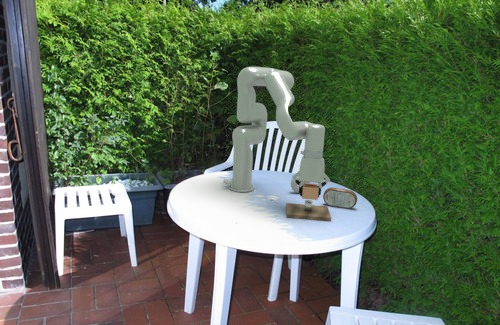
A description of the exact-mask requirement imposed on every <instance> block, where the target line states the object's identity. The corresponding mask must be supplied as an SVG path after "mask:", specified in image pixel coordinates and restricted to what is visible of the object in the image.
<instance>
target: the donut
mask: <svg viewBox="0 0 500 325" xmlns="http://www.w3.org/2000/svg"><path fill="white" fill-rule="evenodd" d="M297 179H298V180H299V181H300V179H299V176H298V177H297ZM304 183H310V184H311V182H304ZM290 187H291V190H292V191H293V192H294V193H297V194H299V185H298V184H297V183H296V182H295V181H294V180H293V178H292V179H291V181H290Z"/></svg>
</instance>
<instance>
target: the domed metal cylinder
mask: <svg viewBox="0 0 500 325" xmlns="http://www.w3.org/2000/svg"><path fill="white" fill-rule="evenodd" d="M313 201H314V200H311V199H304V205H305V206H304V210H305V211H308V212H310V211H312V205H313Z"/></svg>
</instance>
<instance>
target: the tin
mask: <svg viewBox="0 0 500 325" xmlns="http://www.w3.org/2000/svg"><path fill="white" fill-rule="evenodd" d="M322 197H323V199H322V200H323V202H324V203H325V204H326V206H328V207H329V206H330V207H335V208H341V209H345V210H346V209H347V210H349V209H352V208H354V207H355V206H356V205H357V202H358V197H357V194H356V193H355V192H354V191H353V190H351V189H344V188H338V187H333V186H332V187H328V188H326V189H325V191H324V192H323V195H322Z"/></svg>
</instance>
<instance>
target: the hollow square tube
mask: <svg viewBox="0 0 500 325" xmlns="http://www.w3.org/2000/svg"><path fill="white" fill-rule="evenodd" d="M302 186H303V191H302V196H301V199H302V200H311V201H318V200H319V198H318V192H319V187H318V183H311V182H310V183H303V185H302Z"/></svg>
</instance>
